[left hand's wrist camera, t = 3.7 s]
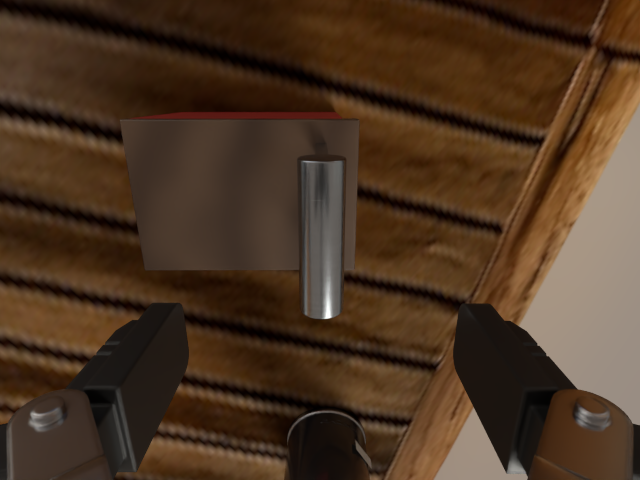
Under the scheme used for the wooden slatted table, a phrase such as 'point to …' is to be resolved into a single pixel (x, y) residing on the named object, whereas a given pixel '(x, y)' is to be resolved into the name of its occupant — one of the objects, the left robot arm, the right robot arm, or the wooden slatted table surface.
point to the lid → (248, 198)
